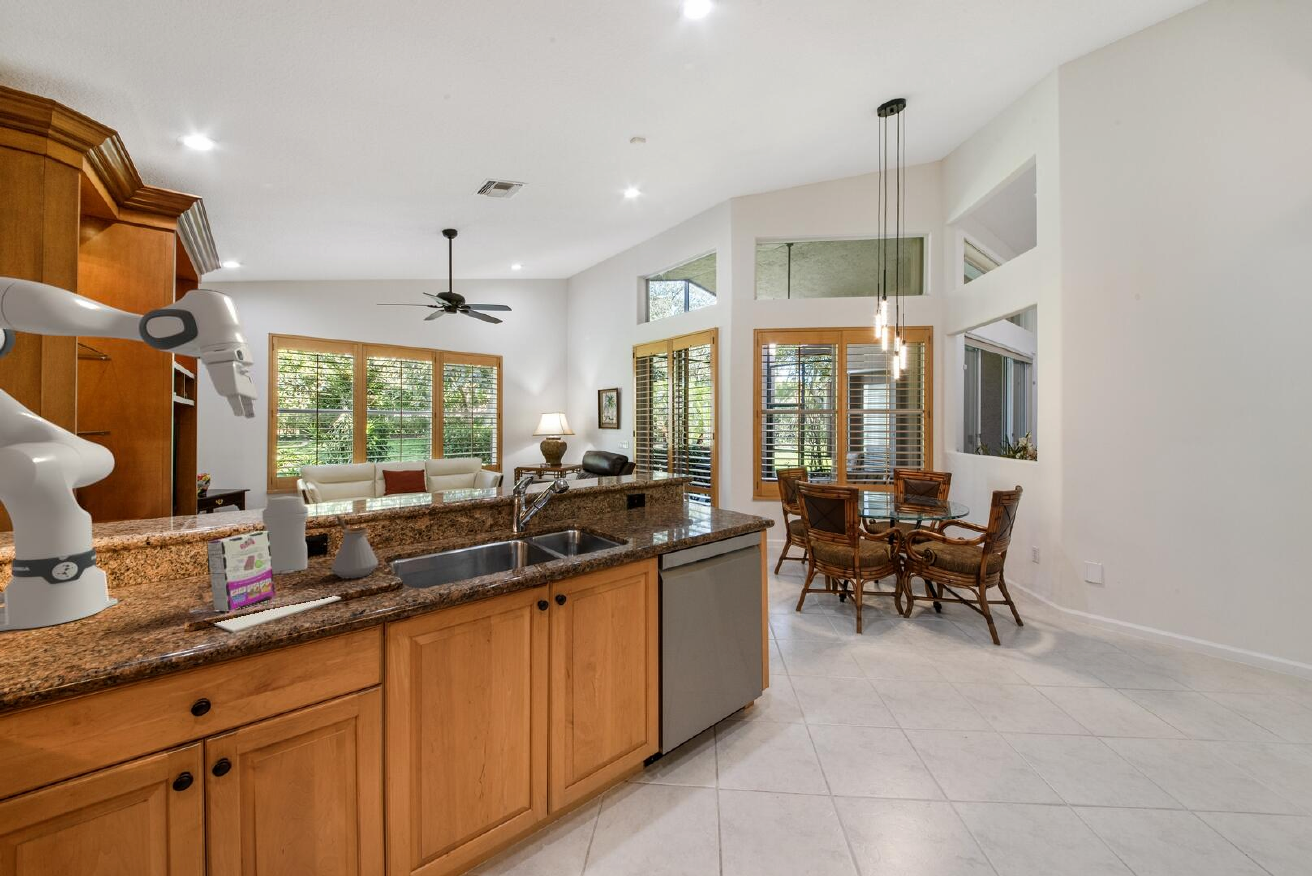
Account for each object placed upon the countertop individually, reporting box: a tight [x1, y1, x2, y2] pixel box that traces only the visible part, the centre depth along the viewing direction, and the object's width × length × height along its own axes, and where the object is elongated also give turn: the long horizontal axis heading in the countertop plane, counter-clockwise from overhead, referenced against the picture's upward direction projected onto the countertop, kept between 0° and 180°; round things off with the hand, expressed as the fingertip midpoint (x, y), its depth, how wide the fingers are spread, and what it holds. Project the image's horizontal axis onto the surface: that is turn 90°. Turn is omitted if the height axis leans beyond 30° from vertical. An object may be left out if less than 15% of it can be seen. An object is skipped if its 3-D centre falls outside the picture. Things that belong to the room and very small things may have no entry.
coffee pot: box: [330, 515, 379, 579], centre depth 147 cm, size 21×12×15 cm, turn 48°
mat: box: [214, 588, 342, 633], centre depth 117 cm, size 13×22×1 cm, turn 153°
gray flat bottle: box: [261, 495, 309, 576], centre depth 145 cm, size 11×4×22 cm, turn 130°
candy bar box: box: [206, 530, 276, 611], centre depth 120 cm, size 11×5×16 cm, turn 168°
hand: (245, 417), depth 119 cm, fingers open, 8 cm apart
